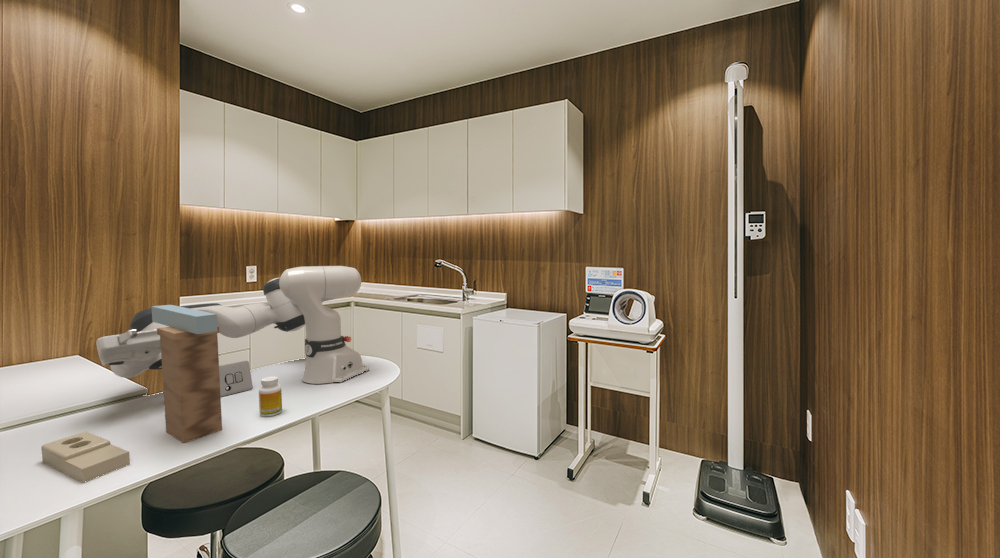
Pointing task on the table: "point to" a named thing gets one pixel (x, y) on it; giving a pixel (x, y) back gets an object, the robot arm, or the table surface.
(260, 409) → the supplement bottle
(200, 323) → the batten
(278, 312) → the robot arm
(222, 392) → the electrical switch
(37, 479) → the table surface
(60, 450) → the electrical outlet
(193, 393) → the tall wooden block
